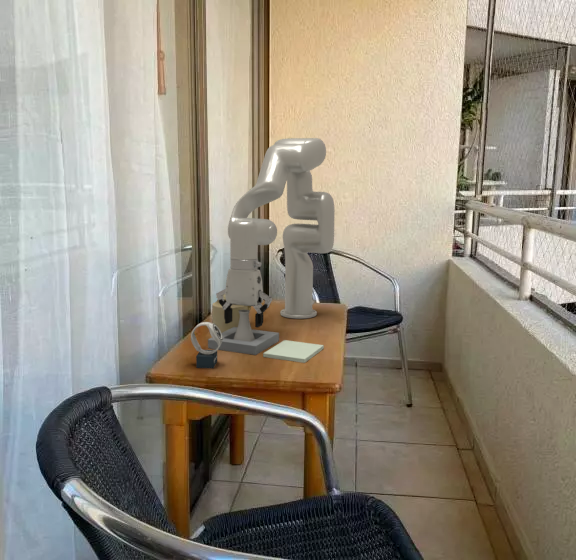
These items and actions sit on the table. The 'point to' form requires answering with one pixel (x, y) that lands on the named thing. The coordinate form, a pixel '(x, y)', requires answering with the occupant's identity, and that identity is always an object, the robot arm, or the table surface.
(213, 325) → the watch
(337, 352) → the table surface
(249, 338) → the flask
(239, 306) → the sugar bowl
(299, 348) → the sage mat
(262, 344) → the frame
